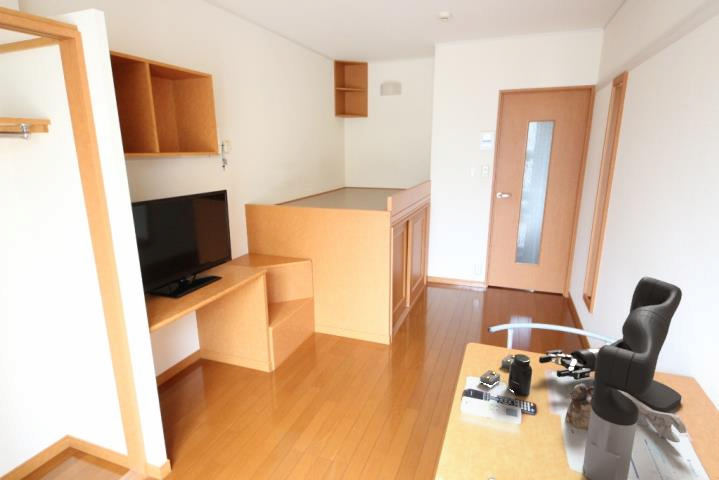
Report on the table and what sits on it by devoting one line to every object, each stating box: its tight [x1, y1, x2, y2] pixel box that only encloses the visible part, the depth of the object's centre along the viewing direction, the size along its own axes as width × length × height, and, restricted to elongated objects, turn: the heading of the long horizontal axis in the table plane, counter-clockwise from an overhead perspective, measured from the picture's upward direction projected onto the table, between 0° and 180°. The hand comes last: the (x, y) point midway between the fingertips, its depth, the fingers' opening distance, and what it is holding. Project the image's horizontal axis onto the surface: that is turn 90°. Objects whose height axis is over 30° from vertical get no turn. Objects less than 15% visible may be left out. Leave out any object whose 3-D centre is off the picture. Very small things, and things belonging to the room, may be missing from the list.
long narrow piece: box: [479, 353, 516, 385], centre depth 140 cm, size 21×4×3 cm, turn 134°
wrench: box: [619, 390, 687, 443], centre depth 117 cm, size 8×2×30 cm
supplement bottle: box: [507, 353, 533, 397], centre depth 129 cm, size 7×7×12 cm
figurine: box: [564, 383, 594, 430], centre depth 114 cm, size 7×7×12 cm
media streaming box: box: [626, 379, 682, 413], centre depth 126 cm, size 15×15×3 cm
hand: (548, 366), depth 131 cm, fingers open, 8 cm apart
